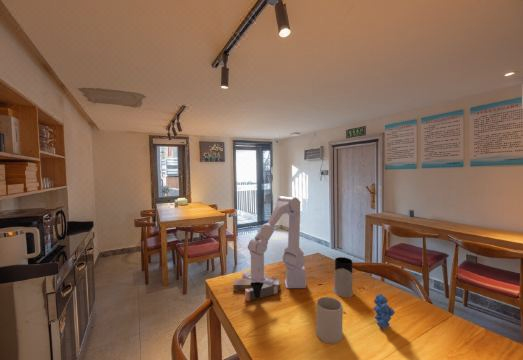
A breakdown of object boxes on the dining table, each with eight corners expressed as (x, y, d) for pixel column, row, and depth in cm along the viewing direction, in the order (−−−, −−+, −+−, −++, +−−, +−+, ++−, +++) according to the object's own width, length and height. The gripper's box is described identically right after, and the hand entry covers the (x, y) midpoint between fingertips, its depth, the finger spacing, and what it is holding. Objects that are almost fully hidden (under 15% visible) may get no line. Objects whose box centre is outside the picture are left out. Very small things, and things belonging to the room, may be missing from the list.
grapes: (401, 340, 77) (401, 304, 76) (379, 337, 78) (379, 302, 78) (389, 318, 88) (389, 287, 88) (370, 316, 90) (370, 285, 89)
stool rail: (279, 285, 115) (279, 275, 114) (281, 295, 105) (281, 284, 105) (234, 285, 115) (234, 275, 114) (232, 295, 105) (232, 284, 105)
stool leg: (275, 290, 109) (275, 281, 109) (278, 293, 106) (278, 284, 106) (244, 298, 102) (244, 289, 102) (247, 301, 100) (247, 292, 100)
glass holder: (332, 295, 105) (332, 262, 105) (335, 281, 118) (335, 252, 118) (353, 298, 102) (353, 265, 101) (353, 284, 115) (353, 254, 115)
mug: (340, 347, 74) (340, 313, 74) (313, 338, 78) (313, 306, 77) (345, 325, 85) (345, 295, 84) (321, 318, 88) (322, 290, 88)
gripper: (238, 266, 100) (238, 297, 100) (267, 274, 93) (268, 307, 93) (247, 261, 106) (247, 290, 107) (275, 267, 99) (275, 299, 99)
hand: (257, 298), depth 100 cm, fingers closed
